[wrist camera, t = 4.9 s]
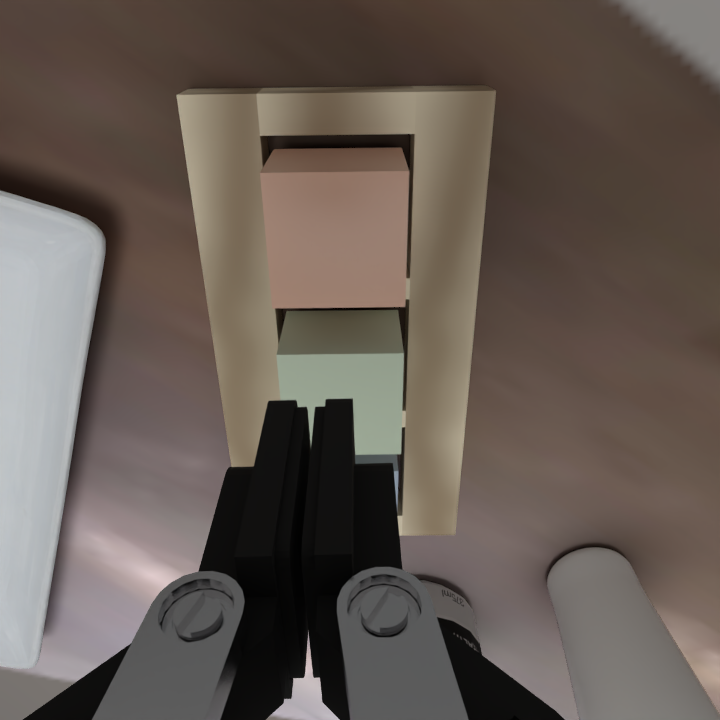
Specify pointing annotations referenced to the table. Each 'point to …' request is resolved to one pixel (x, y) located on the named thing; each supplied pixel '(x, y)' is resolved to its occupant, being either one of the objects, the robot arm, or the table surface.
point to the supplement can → (454, 613)
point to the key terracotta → (336, 227)
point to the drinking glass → (620, 644)
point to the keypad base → (423, 269)
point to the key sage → (347, 370)
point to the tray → (39, 399)
